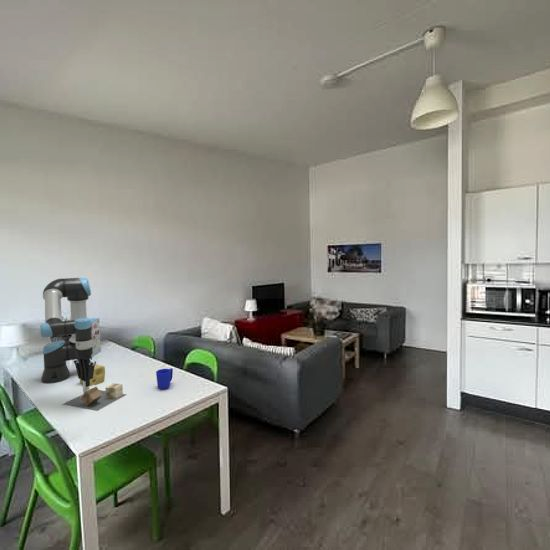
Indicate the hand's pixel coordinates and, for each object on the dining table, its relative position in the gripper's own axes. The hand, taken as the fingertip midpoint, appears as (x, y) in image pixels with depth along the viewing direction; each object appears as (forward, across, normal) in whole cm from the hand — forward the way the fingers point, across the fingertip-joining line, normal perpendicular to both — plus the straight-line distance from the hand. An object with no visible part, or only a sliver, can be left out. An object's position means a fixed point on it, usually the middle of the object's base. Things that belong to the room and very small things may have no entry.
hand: (86, 392), depth 172 cm
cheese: (+7, -22, +23) cm, 32 cm away
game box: (+7, -70, +66) cm, 96 cm away
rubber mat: (+6, 0, +5) cm, 8 cm away
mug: (+7, +26, +32) cm, 41 cm away
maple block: (+6, +8, +11) cm, 15 cm away
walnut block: (0, +1, 0) cm, 1 cm away
